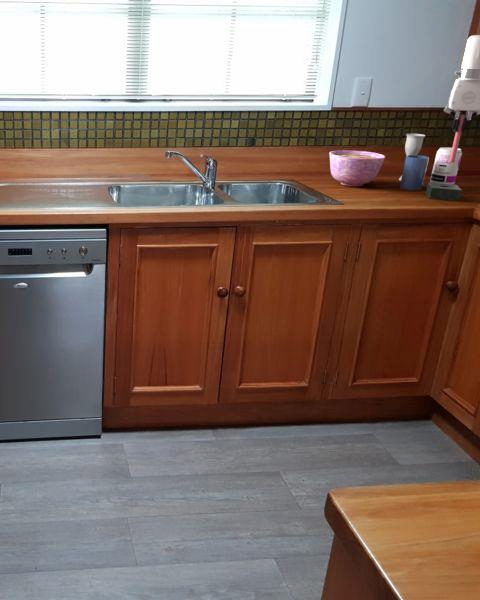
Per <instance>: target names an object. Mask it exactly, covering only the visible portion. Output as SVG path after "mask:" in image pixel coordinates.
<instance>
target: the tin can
mask: <svg viewBox="0 0 480 600" xmlns="http://www.w3.org/2000/svg"><path fill="white" fill-rule="evenodd" d="M429 160H430V157H429V156H426V155H418V154H417V155H406V156H405V159H404V163H403V164H404V165H403V169H402V174H401V176H402V177H401V176H400V177H401V180H400V183H399V188H400V189H401V188H403V189H402V190H405V189H408V190H407V191H412V190H419V191H422V190H421V189H423V186H424V181H425V177H426V172H427V169H428V166H429V165H428V164H429Z"/></svg>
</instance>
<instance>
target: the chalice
mask: <svg viewBox="0 0 480 600" xmlns="http://www.w3.org/2000/svg"><path fill="white" fill-rule="evenodd" d="M405 135H406V139H405V140H406V141H405V145H404V152H405V155H406V156H407V155H418V154H419V153H420V151H421V149H422V145H423V141H424V138H425V137H426V135H425V134H421V133H406V134H405ZM401 177H402V175H401V176H400V177H399V178H398V180H399V181H401Z"/></svg>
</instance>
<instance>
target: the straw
mask: <svg viewBox="0 0 480 600" xmlns="http://www.w3.org/2000/svg"><path fill="white" fill-rule="evenodd" d="M465 117H466V114H459V120H460V122H459V126H458V131H457V132H455V135H454V140H453V144H452V147H451V148H452V151H451V156H450V160H449V162H454V161H455V157H456V153H457V148H458V149H459V144H460V139H461V135H462V133H463V132H462V127H463V123H464V119H465Z"/></svg>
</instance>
